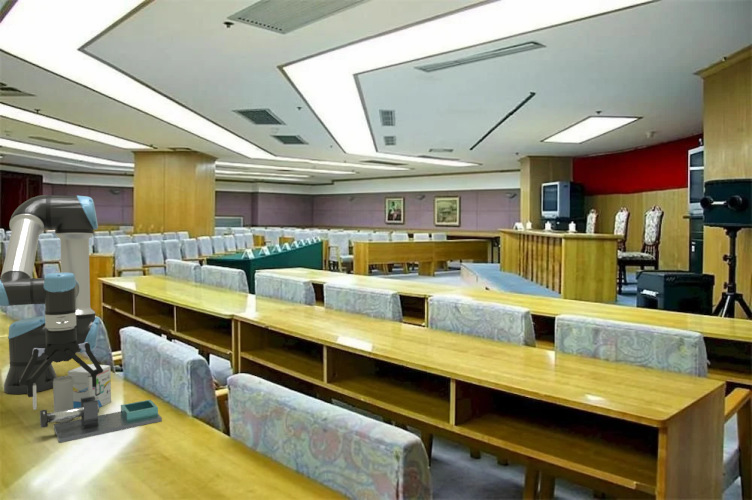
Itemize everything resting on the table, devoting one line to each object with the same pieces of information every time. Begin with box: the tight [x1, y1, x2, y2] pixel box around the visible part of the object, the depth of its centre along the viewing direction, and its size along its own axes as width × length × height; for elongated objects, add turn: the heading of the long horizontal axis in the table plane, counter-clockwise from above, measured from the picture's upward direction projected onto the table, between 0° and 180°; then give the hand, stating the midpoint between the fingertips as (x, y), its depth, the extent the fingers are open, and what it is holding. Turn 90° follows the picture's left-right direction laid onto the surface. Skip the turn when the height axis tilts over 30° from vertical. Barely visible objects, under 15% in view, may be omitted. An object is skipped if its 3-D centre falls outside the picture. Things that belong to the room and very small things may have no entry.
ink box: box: [67, 363, 112, 409], centre depth 164 cm, size 8×8×12 cm
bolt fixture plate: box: [53, 396, 163, 443], centre depth 149 cm, size 12×25×8 cm, turn 127°
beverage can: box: [52, 375, 74, 424], centre depth 152 cm, size 5×5×12 cm
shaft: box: [39, 406, 100, 429], centre depth 143 cm, size 4×13×4 cm, turn 126°
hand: (63, 403), depth 152 cm, fingers open, 13 cm apart
